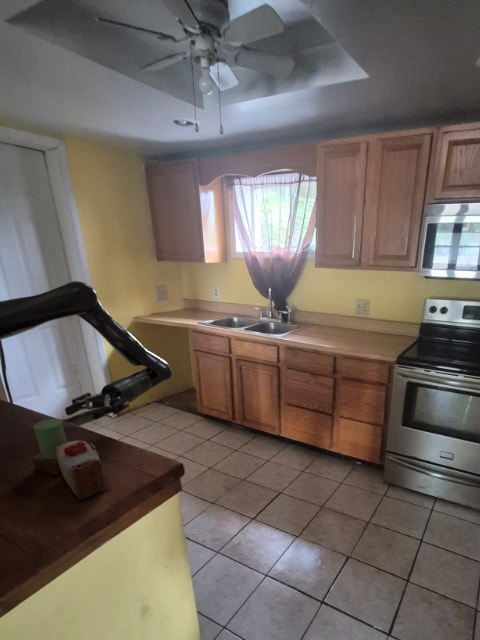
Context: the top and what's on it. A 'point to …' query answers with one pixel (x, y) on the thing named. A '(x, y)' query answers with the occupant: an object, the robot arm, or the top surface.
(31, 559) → the top surface
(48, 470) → the walnut block
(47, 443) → the green tin
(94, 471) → the food item
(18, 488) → the top surface
